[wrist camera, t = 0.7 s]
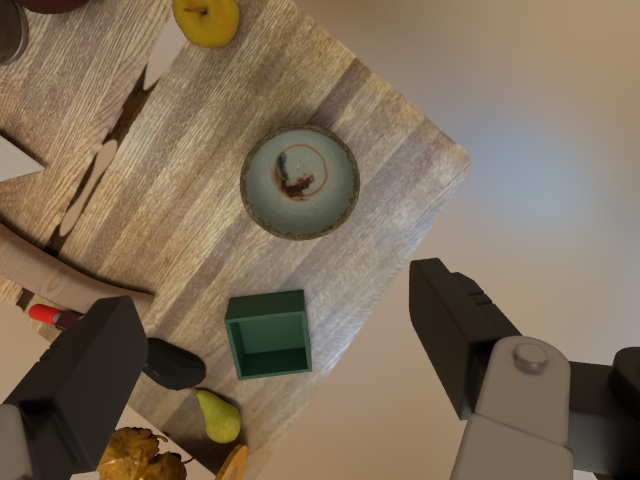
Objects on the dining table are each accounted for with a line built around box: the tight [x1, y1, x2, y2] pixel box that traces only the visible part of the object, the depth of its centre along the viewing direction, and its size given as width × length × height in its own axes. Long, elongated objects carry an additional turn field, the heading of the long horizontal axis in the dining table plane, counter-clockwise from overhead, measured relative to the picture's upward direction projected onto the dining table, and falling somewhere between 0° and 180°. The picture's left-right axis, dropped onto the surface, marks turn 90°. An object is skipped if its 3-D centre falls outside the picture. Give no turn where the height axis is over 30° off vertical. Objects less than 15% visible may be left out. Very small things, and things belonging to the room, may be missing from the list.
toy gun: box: [29, 304, 83, 331], centre depth 50 cm, size 10×12×5 cm
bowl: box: [240, 124, 360, 241], centre depth 46 cm, size 14×13×8 cm
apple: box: [173, 0, 240, 48], centre depth 38 cm, size 6×6×8 cm
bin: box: [224, 290, 312, 380], centre depth 57 cm, size 11×11×6 cm
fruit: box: [186, 387, 241, 443], centre depth 63 cm, size 6×6×12 cm
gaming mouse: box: [142, 339, 205, 391], centre depth 58 cm, size 6×15×4 cm, turn 52°
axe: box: [0, 135, 154, 321], centre depth 49 cm, size 18×5×30 cm
